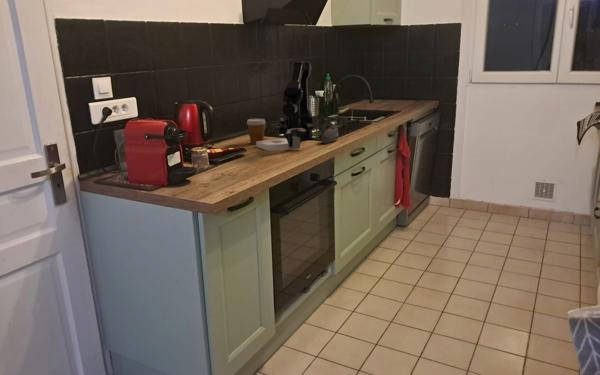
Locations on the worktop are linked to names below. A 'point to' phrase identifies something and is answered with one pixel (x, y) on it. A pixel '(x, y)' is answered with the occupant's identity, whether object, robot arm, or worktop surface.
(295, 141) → the grey cylinder
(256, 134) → the disposable coffee cup
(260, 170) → the worktop surface
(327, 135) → the perforated stone tool
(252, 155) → the worktop surface
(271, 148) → the socket plate
